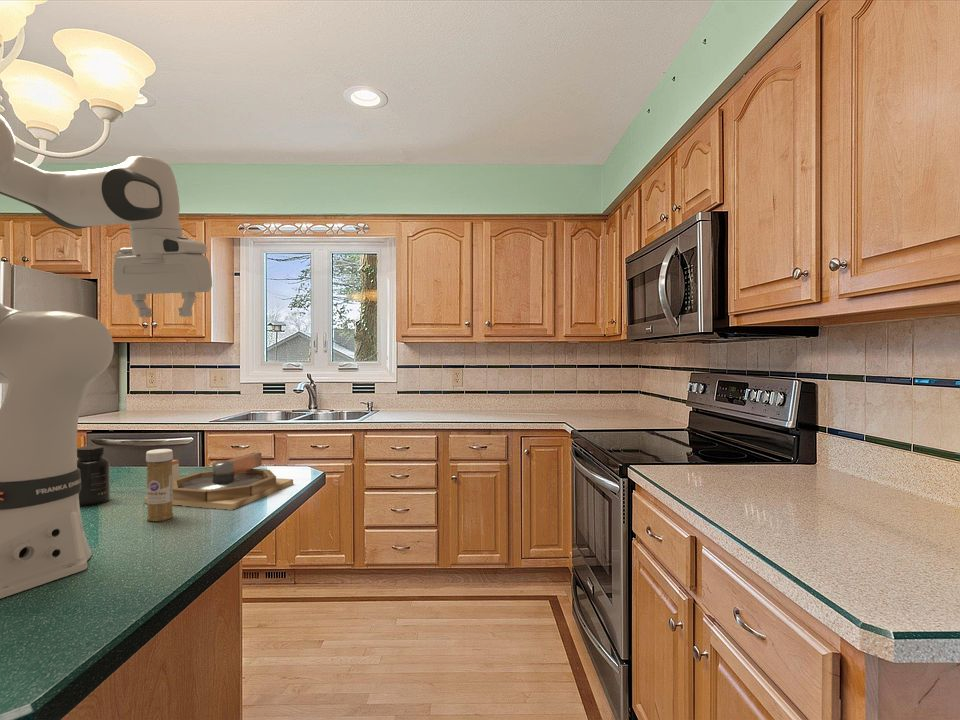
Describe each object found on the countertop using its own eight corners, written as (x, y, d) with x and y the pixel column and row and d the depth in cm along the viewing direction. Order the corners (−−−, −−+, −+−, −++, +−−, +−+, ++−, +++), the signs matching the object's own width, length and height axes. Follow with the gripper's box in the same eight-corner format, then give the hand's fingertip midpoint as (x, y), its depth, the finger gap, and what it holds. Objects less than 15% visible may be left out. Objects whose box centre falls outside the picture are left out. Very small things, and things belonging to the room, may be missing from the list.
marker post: (171, 490, 129) (170, 462, 128) (162, 490, 129) (162, 461, 129) (179, 488, 131) (178, 460, 131) (170, 487, 132) (170, 459, 131)
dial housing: (232, 510, 113) (231, 494, 113) (144, 503, 119) (144, 487, 118) (293, 484, 135) (293, 470, 134) (216, 479, 140) (216, 466, 140)
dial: (229, 498, 116) (229, 472, 116) (163, 493, 120) (162, 468, 120) (287, 476, 137) (287, 454, 136) (228, 472, 141) (228, 451, 141)
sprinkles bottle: (143, 523, 105) (142, 453, 105) (150, 516, 109) (149, 448, 109) (170, 520, 106) (169, 451, 106) (176, 514, 111) (175, 447, 110)
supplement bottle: (63, 505, 117) (62, 449, 117) (95, 496, 124) (94, 443, 124) (86, 508, 115) (85, 451, 115) (117, 499, 122) (116, 445, 121)
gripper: (100, 247, 106) (108, 318, 108) (190, 242, 102) (197, 317, 104) (127, 249, 112) (135, 316, 114) (213, 244, 108) (220, 315, 110)
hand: (165, 317), depth 109 cm, fingers open, 8 cm apart
